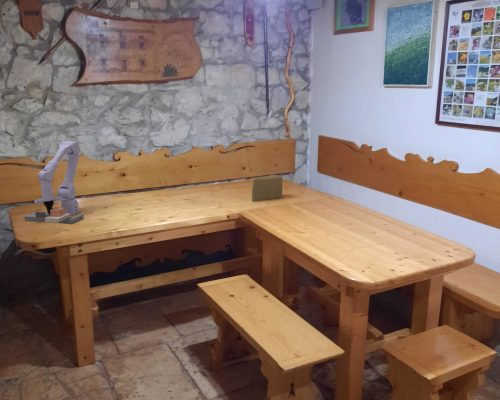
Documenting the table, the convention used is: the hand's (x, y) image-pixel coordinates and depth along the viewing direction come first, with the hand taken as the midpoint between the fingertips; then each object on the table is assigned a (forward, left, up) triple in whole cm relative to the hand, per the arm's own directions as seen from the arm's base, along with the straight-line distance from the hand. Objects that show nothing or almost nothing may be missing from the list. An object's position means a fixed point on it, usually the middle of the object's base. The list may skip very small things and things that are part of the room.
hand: (49, 213), depth 295 cm
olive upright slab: (-111, -76, -4) cm, 134 cm away
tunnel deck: (-2, 0, -3) cm, 4 cm away
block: (-5, -1, -1) cm, 5 cm away
